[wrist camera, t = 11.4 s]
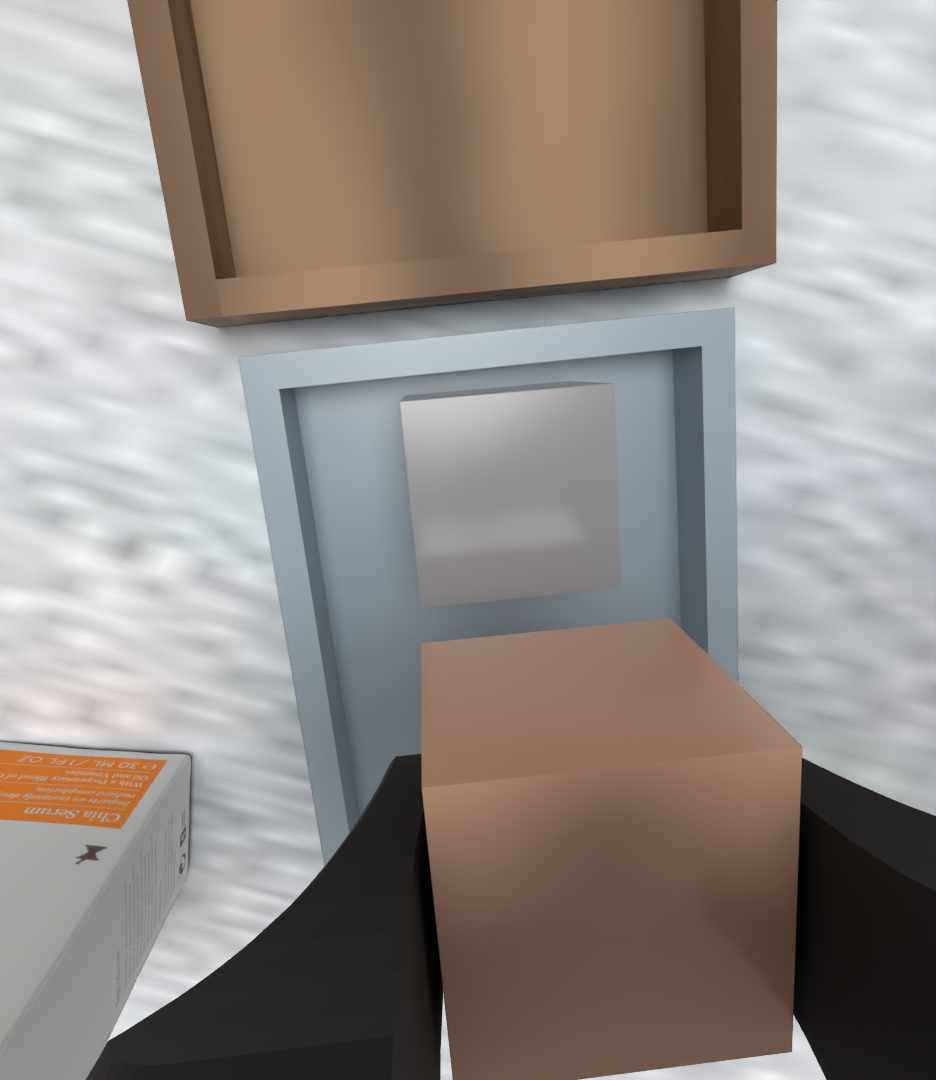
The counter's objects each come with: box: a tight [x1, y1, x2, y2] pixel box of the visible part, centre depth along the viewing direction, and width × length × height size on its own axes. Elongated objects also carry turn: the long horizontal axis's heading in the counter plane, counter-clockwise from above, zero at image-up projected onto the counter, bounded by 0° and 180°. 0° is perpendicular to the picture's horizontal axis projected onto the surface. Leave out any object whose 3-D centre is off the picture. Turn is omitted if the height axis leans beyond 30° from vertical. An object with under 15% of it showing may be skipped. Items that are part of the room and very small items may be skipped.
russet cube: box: [421, 618, 802, 1080], centre depth 11 cm, size 4×4×4 cm
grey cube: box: [400, 381, 621, 608], centre depth 17 cm, size 4×4×4 cm
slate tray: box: [238, 307, 738, 865], centre depth 19 cm, size 12×16×2 cm
